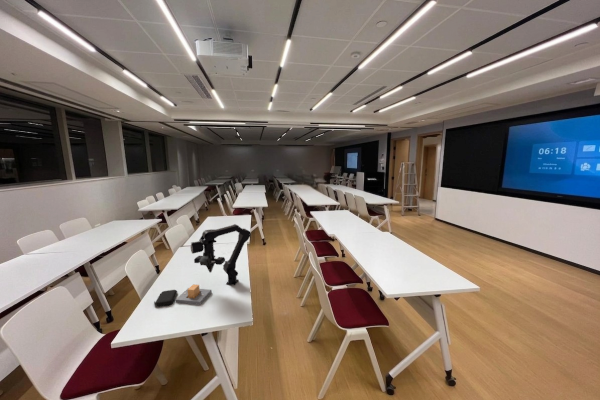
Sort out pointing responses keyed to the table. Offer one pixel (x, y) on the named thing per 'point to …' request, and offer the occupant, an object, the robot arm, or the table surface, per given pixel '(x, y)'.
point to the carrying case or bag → (165, 298)
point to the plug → (193, 291)
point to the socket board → (198, 300)
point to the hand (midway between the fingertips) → (210, 272)
